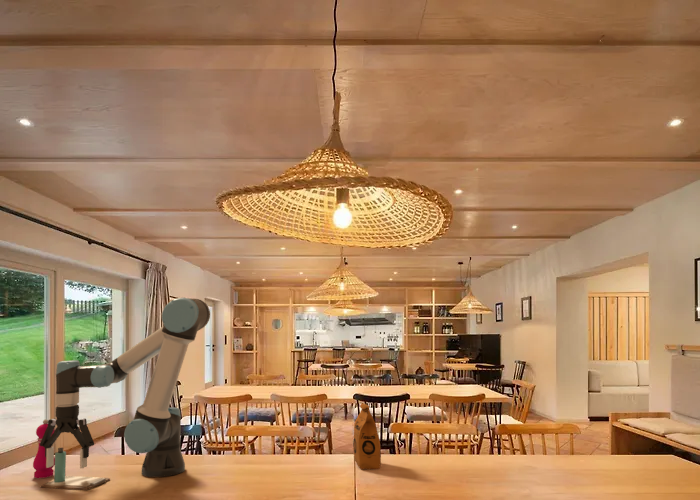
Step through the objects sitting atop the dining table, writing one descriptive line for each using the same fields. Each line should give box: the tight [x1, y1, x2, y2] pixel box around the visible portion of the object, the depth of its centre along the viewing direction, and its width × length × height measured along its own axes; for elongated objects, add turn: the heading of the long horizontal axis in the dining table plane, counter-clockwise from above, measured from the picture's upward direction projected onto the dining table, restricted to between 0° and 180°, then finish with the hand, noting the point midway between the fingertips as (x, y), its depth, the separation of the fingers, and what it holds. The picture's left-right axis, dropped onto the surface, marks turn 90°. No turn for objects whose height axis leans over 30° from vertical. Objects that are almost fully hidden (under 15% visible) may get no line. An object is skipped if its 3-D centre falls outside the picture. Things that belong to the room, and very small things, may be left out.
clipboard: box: [40, 475, 111, 491], centre depth 203 cm, size 18×12×1 cm, turn 77°
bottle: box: [53, 447, 67, 482], centre depth 204 cm, size 3×3×11 cm
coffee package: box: [352, 402, 382, 470], centre depth 220 cm, size 10×12×22 cm
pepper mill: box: [32, 419, 55, 479], centre depth 216 cm, size 7×7×20 cm
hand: (66, 467), depth 207 cm, fingers open, 13 cm apart
